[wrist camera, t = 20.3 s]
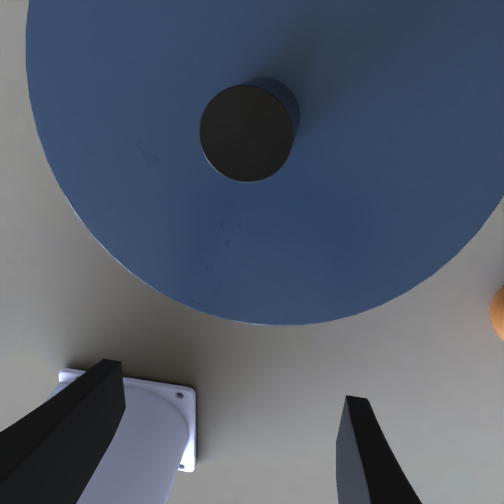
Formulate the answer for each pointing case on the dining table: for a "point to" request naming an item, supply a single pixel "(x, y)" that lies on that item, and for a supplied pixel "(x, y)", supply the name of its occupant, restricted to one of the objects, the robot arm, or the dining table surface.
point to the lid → (273, 143)
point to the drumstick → (498, 312)
